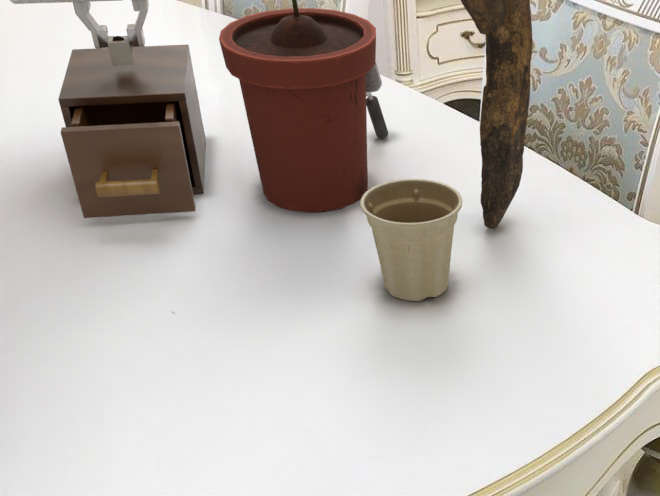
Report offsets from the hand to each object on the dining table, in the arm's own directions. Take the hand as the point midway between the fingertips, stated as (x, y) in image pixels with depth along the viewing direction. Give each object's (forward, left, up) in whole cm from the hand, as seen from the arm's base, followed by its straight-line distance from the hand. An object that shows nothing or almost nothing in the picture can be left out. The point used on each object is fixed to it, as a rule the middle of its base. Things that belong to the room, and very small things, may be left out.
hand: (120, 45), depth 116 cm
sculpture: (+36, -20, -13) cm, 43 cm away
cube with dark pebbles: (0, 0, -2) cm, 2 cm away
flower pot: (+27, -31, -13) cm, 43 cm away
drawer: (0, -9, -12) cm, 15 cm away
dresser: (0, 0, -13) cm, 13 cm away
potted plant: (+21, -6, -13) cm, 26 cm away
